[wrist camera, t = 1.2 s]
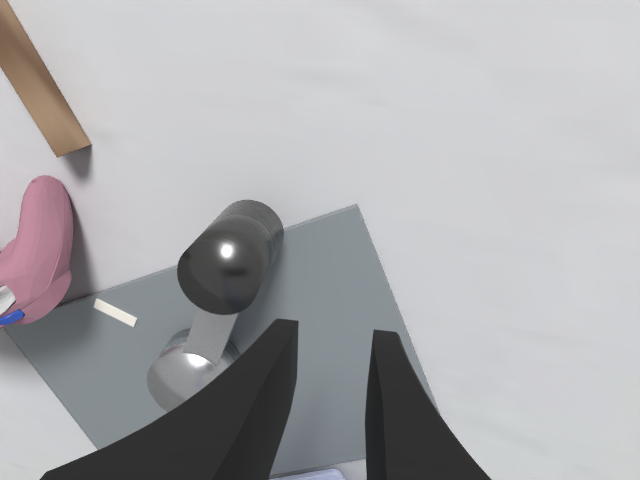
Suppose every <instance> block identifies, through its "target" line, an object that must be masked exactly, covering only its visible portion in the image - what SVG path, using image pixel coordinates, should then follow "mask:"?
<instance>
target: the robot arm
mask: <svg viewBox="0 0 640 480" xmlns="http://www.w3.org/2000/svg"><path fill="white" fill-rule="evenodd" d="M298 327H299V321H297V320H288V319H279V318H277V319H276V320H274V321H273V322H272V323H271V324H270V325H269V327H268V328H267V329H266V330H265V331H264V332H263V333H262V334H261V335H260V336H259V337H258V338H257V339H256V341H255V342H254V343H253V344H252V345H251V346H250V347H249V348H248V349H247V350H246V351H245V352H244V353H242V354H241V355H240V356H239V357H238V358H237V359H236V360H235V361H234V362H233V363H232V364H231V365H230V366H229V367H228V368H226V369H225V370H224V371H223V372H222V373H221V374H219V375H218V376H217V377H216V378H215V379H214V380H212V381H211V382H210V383H209V384H208V385H206V386H205V387H204V388H202V389H201V390H200V391H199V392H197V393H196V394H195V395H193V396H192V397H190V398H189V399H188V400H186V401H185V402H183V403H182V404H181V405H179V406H178V407H176V408H174V409H173V410H171V411H170V412H168V413H166V414H165V415H163V416H161V417H160V418H158V419H157V420H155V421H153V422H152V423H150V424H148V425H147V426H145V427H143V428H141V429H139V430H138V431H136V432H134V433H132V434H130V435H128V436H126V437H124V438H122V439H120V440H118V441H116V442H114V443H112V444H110V445H108V446H106V447H104V448H102V449H100V450H98V451H95V452H93V453H91V454H88V455H86V456H84V457H81V458H79V459H77V460H74V461H72V462H70V463H67V464H65V465H63V466H60V467H58V468H55V469H53V470H50V471H48V472H46V473H45V474H44V475H43V476H42V478H41V479H40V480H268V478H269V475H270V472H271V469H272V466H273V463H274V460H275V457H276V454H277V451H278V448H279V445H280V442H281V439H282V436H283V433H284V430H285V427H286V424H287V421H288V417H289V414H290V411H291V406H292V401H293V396H294V391H295V386H296V381H297V362H298ZM365 444H366V469H367V480H491V479H490V477H489V476H488V475H487V474H486V473H485V472H484V471H483V470H482V469H481V468H480V467H479V465H478V464H477V463H476V462H475V461H474V460H473V458H472V457H471V456H470V455H469V453H468V452H467V451H466V450H465V448H464V447H463V446H462V445H461V443H460V442H459V441H458V439H457V438H456V437H455V435H454V434H453V433H452V431H451V430H450V429H449V427H448V426H447V424H446V423H445V422H444V420H443V419H442V417H441V416H440V414H439V413H438V411H437V409H436V408H435V406H434V405H433V403H432V401H431V400H430V398H429V396H428V395H427V393H426V391H425V390H424V388H423V386H422V384H421V382H420V380H419V379H418V377H417V375H416V373H415V371H414V369H413V367H412V365H411V363H410V361H409V359H408V356H407V354H406V352H405V349H404V347H403V344H402V341H401V339H400V336H399V335H398V333H397V332H393V331H384V330H375V329H374V330H373V339H372V348H371V357H370V365H369V374H368V383H367V395H366V410H365ZM269 480H345V479H344V477H343V475H342V473H341V472H340V471H339V470H337V469H326V470H321V471H315V472H309V473H303V474H298V475H292V476H286V477H280V478H275V479H269Z"/></svg>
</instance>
